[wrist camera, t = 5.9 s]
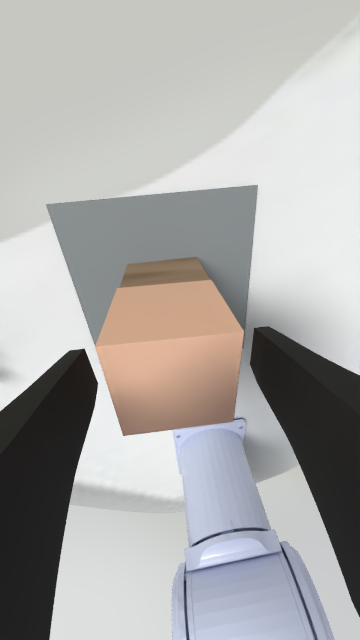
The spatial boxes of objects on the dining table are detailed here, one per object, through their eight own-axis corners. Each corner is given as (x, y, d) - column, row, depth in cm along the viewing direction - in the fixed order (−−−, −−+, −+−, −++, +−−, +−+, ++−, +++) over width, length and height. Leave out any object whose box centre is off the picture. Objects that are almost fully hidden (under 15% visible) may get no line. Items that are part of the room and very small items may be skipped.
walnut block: (198, 315, 17) (211, 353, 13) (139, 322, 17) (135, 363, 13) (196, 256, 15) (211, 281, 11) (127, 264, 14) (117, 291, 10)
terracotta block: (209, 352, 13) (233, 421, 9) (132, 360, 13) (123, 435, 9) (211, 279, 11) (243, 331, 7) (117, 288, 10) (95, 346, 7)
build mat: (241, 346, 19) (243, 348, 19) (103, 363, 19) (102, 366, 18) (255, 185, 13) (257, 185, 13) (48, 204, 12) (45, 204, 12)
